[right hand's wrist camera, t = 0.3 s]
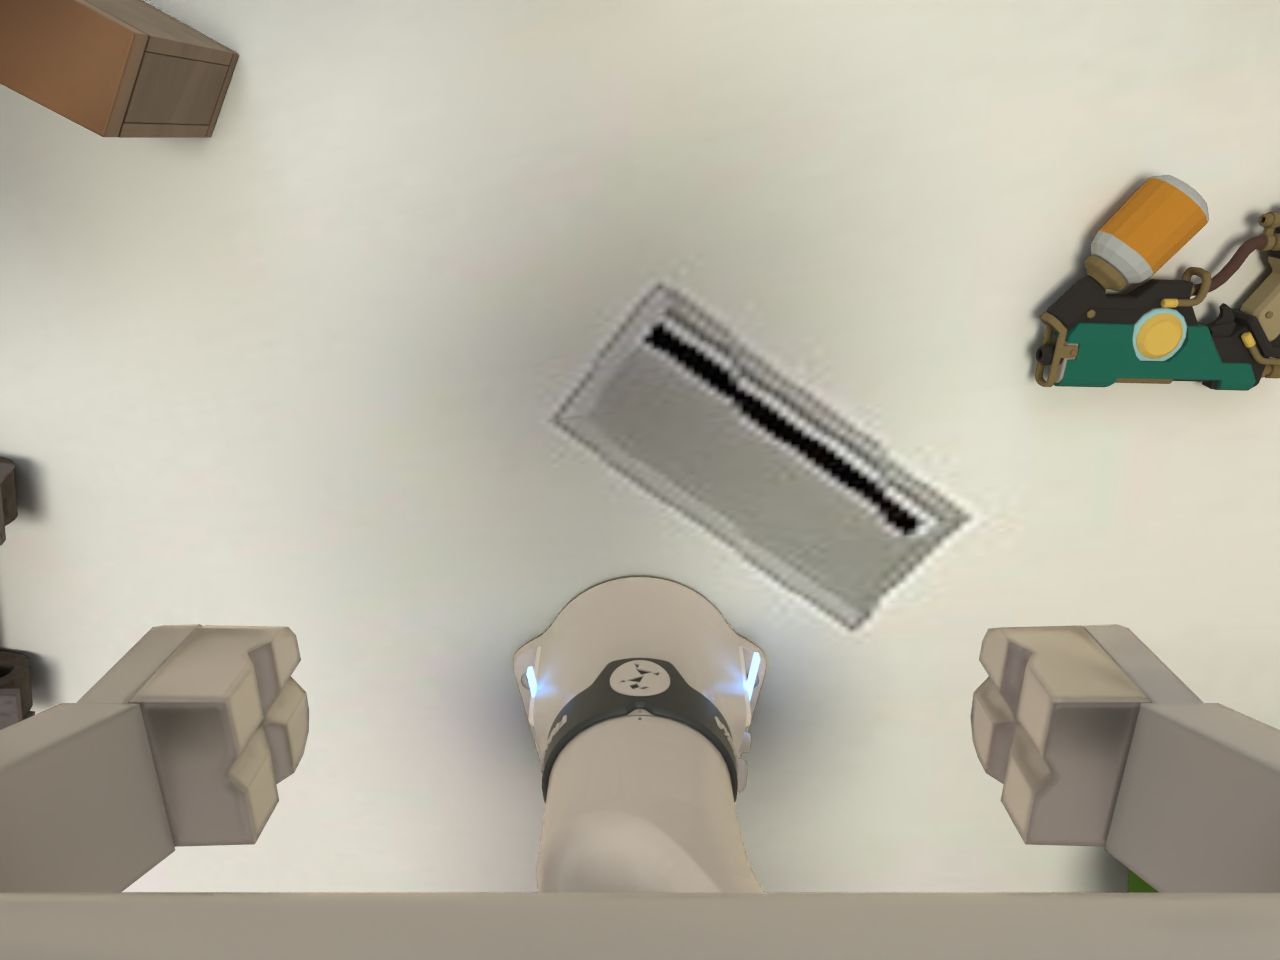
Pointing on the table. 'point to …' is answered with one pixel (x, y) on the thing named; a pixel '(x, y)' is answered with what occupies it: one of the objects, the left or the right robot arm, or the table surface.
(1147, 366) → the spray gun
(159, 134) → the chest
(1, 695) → the toy
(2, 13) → the lid
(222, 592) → the table surface
